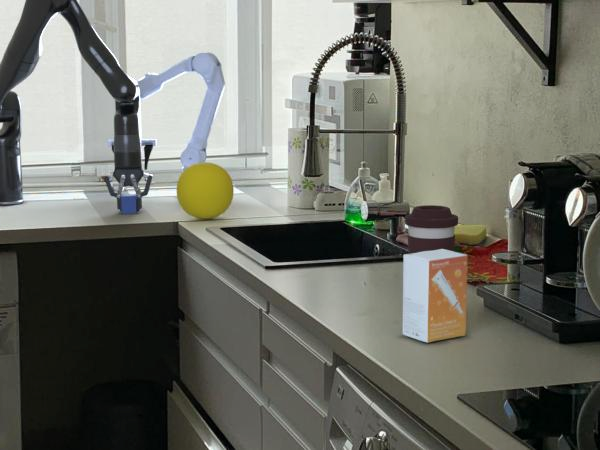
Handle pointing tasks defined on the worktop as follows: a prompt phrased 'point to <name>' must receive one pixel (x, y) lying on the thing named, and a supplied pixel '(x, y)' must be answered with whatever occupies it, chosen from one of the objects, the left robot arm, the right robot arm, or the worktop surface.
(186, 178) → the toy
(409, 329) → the small box
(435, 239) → the coffee cup
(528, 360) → the worktop surface
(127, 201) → the block
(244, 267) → the worktop surface
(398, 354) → the worktop surface
